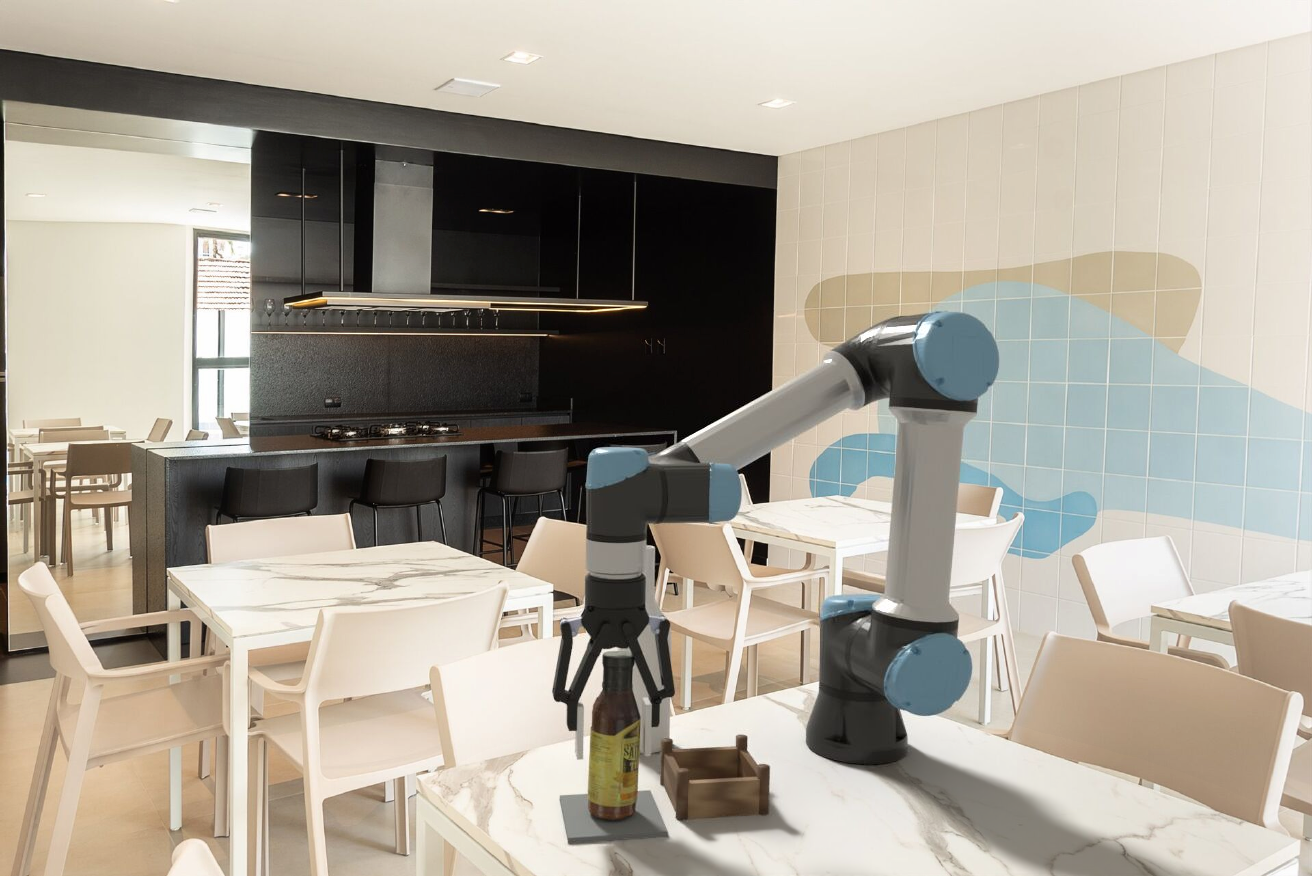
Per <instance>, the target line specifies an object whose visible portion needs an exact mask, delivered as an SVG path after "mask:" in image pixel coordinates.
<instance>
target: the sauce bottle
mask: <svg viewBox="0 0 1312 876" xmlns="http://www.w3.org/2000/svg"><path fill="white" fill-rule="evenodd" d="M601 660H602V663H601V664H602V667H603V670H602V671H603V673H602V682H601V687H602V690H601V691H600V692H599V693H600V694H598V696H597V697H596V699H595V700H594V702H593V705H592V711H591V726H590V737H589V754H588V755H589V757H588V759H589V760H588V775H587V776H588V780H587V794H588V810H589V812H590V813H591V814H592V815H593V816H596V817H598V818H601V819H608V820H617V819H624V818H627V817H629V816H631V815H633V813H634V812H635V808H636V801H637V793H638V791H639V790H638V789H639V768H640V767H639V765H640V753H639V750H640V725H641V716H640V713H639V710H638V706H637V703H636V700H635V696H634V693H633V689H632V688H633V685H632V674H633V666H634V664H635V661H634V657H633V655H632V653H630V652H626V651H617V650H610V651H605V652H603V653H602V659H601Z"/></svg>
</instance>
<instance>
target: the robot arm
mask: <svg viewBox="0 0 1312 876" xmlns="http://www.w3.org/2000/svg"><path fill="white" fill-rule="evenodd" d="M999 369H1000V353H999V348H998V345H997V341H996V339H995V337H994V336H993V334H992V332H991V331H990V330H988V328H987V326H986V324H985V323H983V322H982V320H980V319H978V318H977V317H975V316H973V315H971V314H970V313H969V314H968V313H965V312H961V311H948V310H944V311H938V310H935V311H932V312H926V313H925V312H924V313H919V314H912V315H900V316H893V317H889V318H887V319H884V320H883V321H880V322H877V323H876V324H874V325H872V326H871V327H868V328H867V329H865V330H864V331H861V332H860V333H858V334H856V335H854V336H853V337H851V338H850V339H849V338H848V339H847V340H846V341H844V342H842V343H840V344H839V345H838V346H836V347H834V348H833V349H830V350H829V351H827V352H826V353H824V355H823V357H822V359H821V363H819V364H817V365H816V366H814V367H812V368H810V369H808V370H807V371H805V372H803V373H801V374H800V375H797V376H796V377H793V378H792V379H790V380H789V381H787V382H785V383H783V384H781V385H779V386H778V387H776V388H774V389H772V390H771V391H769V392H767V393H765V394H763V395H761V396H760V397H758V398H756V399H754V400H753V401H750V402H749V403H747V404H745V405H744V406H741V407H740V408H738V409H736V410H734V411H733V412H731V413H729V414H727V415H725V416H724V417H721V418H720V419H718V420H716V421H714V422H713V423H711V424H709V425H707V426H706V427H704V428H702V429H700V430H698V431H696V432H695V433H693V434H691V435H689V436H687V437H685V438H684V439H682V440H680V441H679V442H677V443H674V444H673V445H671V446H669V447H667V448H665V449H663V450H662V451H660V452H651V453H648V451H647V450H646V449H645V448H641V447H624V446H609V447H608V446H607V447H606V446H604V447H597V448H595V449H592V450H591V452H590V453H589V455H588V458H587V459H588V460H587V469H586V470H587V471H586V482H585V485H584V486H585V487H584V488H585V489H586V490H585V491H586V493H585V494H586V496H585V497H586V498H585V499H586V500H585V501H586V509H585V510H586V511H585V512H586V513H585V515H586V533H585V536H586V538H585V569H586V570H587V571H588V573H587V574H586V575H585V576H584V607H583V611H582V613H581V614H580V616H578V617H573V618H569V619H568V618H567V617H561V618H560V619H559V622H558V623H559V624H558V625H559V629H560V635H561V637H560V638H561V639H560V645H559V650H558V654H557V655H558V656H557V662H556V665H555V666H556V667H555V673H554V679H553V685H552V690H551V693H552V697H553V700H554V701H555V702H556V703H563V704H565V705H566V726H567V729H568V732H574V753H575V757H576V760H584V725H585V724H584V723H585V719H584V718H585V717H584V716H585V707H584V706H585V705H584V704H583V700H581V698H582V695H583V692H584V690H585V687H586V685H587V683H588V681H589V679H590V676H591V674H592V672H593V669H594V667H595V665H596V663H597V660H598V658H599V657H600V655H601V653H602V652H603V650H611V649H614V648H621V649H627V648H628V647H629V649H630V651H631V653H632V655H633V657H634V661H635V663H636V666H637V668H638V670H639V673H640V675H641V678H642V680H643V683H644V685H645V687H646V690H647V692H648V695H649V698H648V697H646V698H642V736H641V749H642V751H643V753H642V754H643V755H644V757H651V756H652V753H651V727H658V726H659V723H660V704H661V702H662V700H663V699H664V698H667V697H670V698H673V697H674V696H675V693H676V690H675V689H676V687H675V683H674V676H673V670H672V659H671V660H670V653H669V646H668V634H669V629H670V628H671V622H670V620H669V619H668V618H667V617H666V616H665V614H664V615H661V616H659V617H656V616H650V615H648V613H647V611H646V607H645V602H646V577H645V576H644V574H642V572H643V571H644V570H645V569H646V546H647V539H648V533H647V530H648V525H659V524H695V523H696V524H698V523H702V524H704V523H707V524H709V525H711V524H713V523H722V522H729V521H731V520H734V519H735V518H736V516H737V515H738V514H739V511H740V509H741V506H742V505H741V504H742V497H743V496H742V495H743V494H742V492H743V488H742V481H741V477H740V475H739V472H738V470H741V469H742V468H743V467H746V466H747V465H749V464H751V463H753V462H754V461H756V460H758V459H759V458H761V457H763V456H765V455H767V454H769V453H770V452H772V451H774V450H775V449H777V448H779V447H781V446H783V445H784V444H787V443H788V442H790V441H791V440H793V439H795V438H797V437H799V436H800V435H802V434H804V433H806V432H808V431H809V430H811V429H813V428H815V427H816V426H819V425H820V424H822V423H824V422H826V421H827V420H829V419H831V418H833V417H834V416H836V415H838V414H840V413H841V412H843V411H845V410H846V409H849V410H852V411H859V410H860V409H862V408H864V407H866V406H868V405H870V404H872V403H874V402H878V401H880V400H884V399H889V401H888V410H889V411H890V412H891V414H892V415H893V416H894V417H895V418H896V420H897V423H898V431H897V442H896V453H895V464H894V465H895V466H894V477H893V487H892V488H893V489H892V499H891V513H890V521H889V522H890V523H889V524H890V525H889V536H888V548H887V558H886V559H887V560H886V571H885V582H884V593H883V594H881V593H879V594H876V593H848V594H845V593H844V594H836V595H832V596H831V595H830V596H829V597H826V598H825V599H824V600H823V602H822V604H821V611H820V618H819V623H820V624H819V625H820V626H819V628H820V630H819V632H820V633H819V634H820V635H819V665H818V666H819V668H818V669H819V670H818V675H819V677H818V681H819V682H818V693H817V696H816V699H815V702H814V704H813V707H812V710H811V713H810V715H809V718H808V721H807V723H806V727H805V728H806V729H805V744H806V746H807V747H808V748H809V749H810V750H811V751H812V752H814V753H816V754H818V755H820V756H822V757H825V758H828V759H830V760H835V761H839V762H844V763H851V764H858V765H860V764H861V765H862V764H863V765H877V764H878V765H879V764H887V763H892V762H895V761H898V760H900V759H902V758H904V757H905V756H906V755H907V753H908V742H909V741H908V739H909V737H908V736H909V735H908V732H907V727H906V725H905V722H904V719H903V716H902V715H903V714H902V711H906V712H908V713H910V714H912V715H915V716H918V717H919V716H920V717H929V716H936V715H940V714H942V713H944V712H946V711H947V710H948V711H949V709H951V708H952V706H953V705H954V704H955V702H959V700H960V699H961V698H962V697H963V695H964V694H965V692H966V691H967V690H968V687H969V686H970V685H969V684H970V683H971V679H972V674H973V660H972V656H971V653H970V651H969V650H968V649H967V648H966V645H965V644H964V642H963V641H962V640H960V639H959V638H958V634H959V620H960V614H959V613H958V612H957V610H955V609H956V608H954V607H953V606H952V604H951V603H950V591H951V579H952V578H951V577H952V571H953V570H952V567H953V559H954V558H953V557H954V556H953V555H954V544H955V534H956V524H957V523H956V522H957V511H958V510H957V509H958V500H959V486H960V477H961V465H962V464H961V463H962V451H963V442H964V441H963V439H964V432H965V431H964V429H965V427H966V425H967V424H968V423H970V421H972V420H973V419H975V417H977V416H978V406H979V405H978V404H979V398H980V397H981V396H983V395H985V394H986V393H987V392H988V390H989V387H991V386H993V385H994V382H995V381H996V379H997V376H998V374H999ZM647 625H650V626H651V631H652V632H653V634H655V642H656V649H657V656H658V663H659V670H660V677H661V684H662V685H661V686H659V687H656V684H655V682H654V679H653V677H652V674H651V672H650V670H649V667H648V665H647V662H646V660H645V657H644V655H643V652H642V650H641V647H640V645H639V642H638V640H637V639H638V637H639V636H640V634H641V633H642V632H643V630H644V629H645V628H646V626H647ZM582 627H583V629H584V630H585V632H586V633H587V634H588V636H589V640H588V643H587V645H586V649H585V651H584V654H583V656H582V659H581V661H580V663H579V665H578V668H577V670H576V672H575V674H574V676H573V678H572V681H571V683H570V686H569V688H568V690H567V689H566V684H567V680H568V675H569V668H570V662H571V657H572V651H573V645H574V639H573V638H575V637H576V636H578V634H579V630H580V628H582Z"/></svg>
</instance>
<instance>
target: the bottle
mask: <svg viewBox="0 0 1312 876" xmlns="http://www.w3.org/2000/svg"><path fill="white" fill-rule="evenodd" d="M655 565H656V547H655V546H653V545H646V569H645V570H644V571H643V572H642V574H644V576H645V577H646V602H645V607H646V611H647V613H648V615H650V616H656V617H659V616H661V615H664V616H665V614H664V613H663V611H662V610H661V607H660V606H659V604H658V602H657V600H656V597H655V580H656V579H655V573H656V569H655V567H656V566H655ZM637 640H638V642H639V645H640V647H641V650H642V652H643V655H644V657H645V660H646V662H647V665H648V667H649V670H650V672H651V674H652V677H653V679H654V682H655V684H656V687H659V686H661V685H662V684H661V677H660V670H659V663H658V656H657V649H656V642H655V634H653V632H652V631H651V626H650V625H647V626H646V628H645V629H644V630H643V632H642V633H641V634H640V636H639V637H638V639H637ZM668 646H669V653H670V660H671V661H672V628H671V627H670V629H669V634H668ZM616 648H617V647H616ZM616 651H626V652H630V653H631V651H630V649H629V647H628V648H627V649H621V648H617V650H616ZM632 685H633V688H632V689H633V693H634V696H635V700H636V703H637V706H638V710H639V713H640V716H641V725H640V750H639V754H644V753H643V751H642V749H641V736H642V698H646V697H648V698H649V695H648V692H647V690H646V687H645V685H644V683H643V680H642V678H641V675H640V673H639V670H638V668H637V666H636V663H635V664H634V666H633V674H632ZM670 726H671V697H667V698H664V699H663V700H662V702H661V704H660V723H659V726H658V727H651V754H654V753H658V752H661V739H663V738H670V733H671V732H670V730H671V727H670Z"/></svg>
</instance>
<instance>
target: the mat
mask: <svg viewBox="0 0 1312 876" xmlns="http://www.w3.org/2000/svg"><path fill="white" fill-rule="evenodd" d="M559 805H560V808H561V813H562V814H561V815H562V818H563V819H562V820H563V825H564V830H565V834H566V839H567V843H568V844H569V843H571V844H572V843H587V842H602V841H603V842H604V841H614V840H615V841H616V840H631V839H648V838H650V839H651V838H663V837H668V835H669V834H668V833H669V830H668V828H667V826H666V824H665V821H664V819H663V816H662V815H661V812H660V810H659V808H658V805H657V803H656V800H655V798H654V796H653V793H652V791H651V790H649V789H648V790H647V789H646V790H638V793H637V801H636V808H635V812H634V813H633V815H631V816H629V817H627V818H624V819H617V820H608V819H601V818H598V817H596V816H593V815H592V814H591V813H590V812H589V810H588V793H580V794H579V793H577V794H561V795H560V794H559Z"/></svg>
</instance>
